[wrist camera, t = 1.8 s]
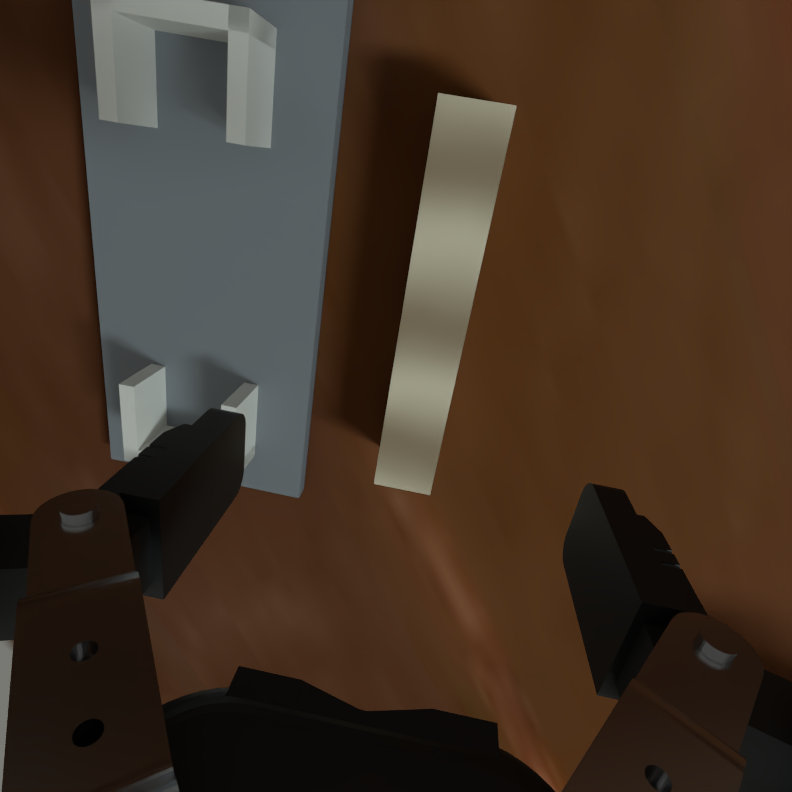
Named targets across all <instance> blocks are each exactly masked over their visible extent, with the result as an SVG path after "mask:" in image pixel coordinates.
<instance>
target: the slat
mask: <svg viewBox="0 0 792 792" xmlns="http://www.w3.org/2000/svg"><path fill="white" fill-rule="evenodd" d="M515 111H516V106H515V105H509V104H503V103H497V102H491V101H485V100H479V99H473V98H467V97H461V96H454V95H448V94H442V93H438V97H437V103H436V109H435V115H434V121H433V127H432V133H431V139H430V145H429V152H428V158H427V164H426V170H425V176H424V182H423V188H422V194H421V200H420V206H419V212H418V218H417V225H416V231H415V237H414V243H413V249H412V255H411V261H410V267H409V273H408V279H407V285H406V291H405V298H404V304H403V310H402V316H401V322H400V328H399V334H398V340H397V346H396V352H395V358H394V364H393V371H392V377H391V383H390V389H389V395H388V401H387V407H386V413H385V419H384V425H383V431H382V437H381V444H380V450H379V456H378V462H377V468H376V474H375V480H374V484H378V485H383V486H388V487H393V488H397V489H402V490H407V491H412V492H417V493H422V494H427V495H430V493H431V488H432V484H433V479H434V475H435V470H436V466H437V461H438V457H439V452H440V448H441V443H442V439H443V434H444V430H445V425H446V421H447V416H448V412H449V407H450V403H451V398H452V394H453V389H454V385H455V380H456V376H457V371H458V367H459V362H460V358H461V353H462V349H463V344H464V340H465V335H466V331H467V326H468V322H469V317H470V313H471V308H472V304H473V299H474V295H475V290H476V286H477V281H478V277H479V272H480V268H481V263H482V259H483V254H484V250H485V245H486V241H487V236H488V232H489V227H490V223H491V218H492V214H493V209H494V205H495V200H496V196H497V191H498V187H499V182H500V178H501V173H502V169H503V164H504V160H505V156H506V151H507V147H508V142H509V138H510V133H511V129H512V124H513V120H514V115H515Z"/></svg>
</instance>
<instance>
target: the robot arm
mask: <svg viewBox="0 0 792 792" xmlns="http://www.w3.org/2000/svg"><path fill="white" fill-rule="evenodd" d="M245 433H246V420H245V416H244V415H243V414H241V413H236V412H231V411H226V410H221V409H216V408H210V409H209V410H207V411H206V412H205V413H204V414H203V415H202V416H201V417H200V418H199V419H198V420H197V421H196V422H195V423H193V424H192V425H189V424H182V425H180V426H177V427H175V428H172V429H170V430H168V431H165V432H163V433H162V434H161V435H160V436H159V437H157V438H156V439H155V440H154V441H153V442H152V443H151V444H150V446H149V447H146V448H145V449H144V450H142V451H141V452H140V453H139V454H138V457H134V458H133V459H132V460H131V461H130V462H129V463H127V464H126V465H125V466H124V467H123V468H122V469H121V470H119V471H118V472H117V473H116V474H115V475H114V476H112V477H111V478H110V479H109V480H108V481H107V482H106V483H104V484H103V485H102V486H101V487H100V488H99V489H83V490H76V491H71V492H67V493H64V494H61V495H59V496H56V497H54V498H52V499H50V500H48V501H47V502H45V503H43V504H42V505H41V506H40V507H39V508H38V509H37V510H36V511H35V512H34V514H27V515H0V641H4V640H14V645H13V657H12V671H11V682H10V695H9V708H8V720H7V732H6V744H5V745H6V746H5V757H4V769H3V782H2V792H555V791H554V790H553V789H552V788H551V787H550V786H549V785H548V784H547V783H546V782H545V781H544V780H543V779H542V778H541V777H540V776H539V775H538V774H537V773H536V772H534V771H533V770H532V769H531V768H529V767H528V766H527V765H526V764H524V763H523V762H522V761H520V760H519V759H517V758H516V757H514V756H513V755H511V754H509V753H508V752H506V751H504V750H502V749H500V748H499V743H498V727H497V723H494V722H490V721H485V720H481V719H476V718H472V717H467V716H463V715H458V714H454V713H449V712H444V711H440V710H435V709H416V710H390V711H364V710H360V709H358V708H355V707H353V706H352V705H350V704H348V703H346V702H344V701H342V700H340V699H338V698H336V697H334V696H332V695H330V694H328V693H326V692H324V691H322V690H320V689H318V688H316V687H314V686H312V685H310V684H308V683H306V682H304V681H303V680H300V679H295V678H291V677H286V676H282V675H277V674H273V673H268V672H264V671H259V670H254V669H250V668H245V667H241V666H239V667H238V669H237V671H236V673H235V676H234V678H233V680H232V682H231V685H230V687H229V688H216V689H209V690H203V691H199V692H196V693H192V694H188V695H185V696H182V697H180V698H177V699H175V700H172V701H169V702H167V703H165V704H163V705H162V703H161V697H160V691H159V686H158V680H157V674H156V668H155V663H154V657H153V651H152V645H151V640H150V634H149V628H148V622H147V617H146V611H145V605H144V599H143V595H145V596H150V597H154V598H159V599H164V598H165V597H166V595H167V594H168V593H169V591H170V590H171V588H172V587H173V585H174V584H175V583H176V581H177V580H178V578H179V577H180V575H181V574H182V573H183V571H184V570H185V568H186V567H187V565H188V564H189V563H190V561H191V560H192V558H193V557H194V556H195V554H196V553H197V551H198V550H199V548H200V547H201V546H202V544H203V543H204V541H205V540H206V538H207V537H208V536H209V534H210V533H211V531H212V530H213V528H214V527H215V526H216V524H217V523H218V521H219V520H220V518H221V517H222V516H223V514H224V513H225V511H226V510H227V508H228V507H229V506H230V504H231V503H232V501H233V500H234V499H235V497H236V495H237V494H238V492H239V489H240V487H241V483H242V480H243V475H244V459H245ZM563 564H564V568H565V572H566V576H567V580H568V584H569V587H570V591H571V595H572V599H573V603H574V607H575V611H576V615H577V619H578V622H579V626H580V630H581V634H582V638H583V642H584V646H585V650H586V654H587V657H588V661H589V665H590V669H591V673H592V677H593V681H594V685H595V689H596V692H597V695H599V696H604V697H608V698H613V699H617V700H618V702H617V704H616V705H615V707H614V708H613V710H612V712H611V713H610V715H609V716H608V718H607V720H606V721H605V723H604V724H603V726H602V728H601V729H600V731H599V732H598V734H597V736H596V737H595V739H594V740H593V742H592V744H591V745H590V747H589V748H588V750H587V752H586V753H585V755H584V756H583V758H582V760H581V761H580V763H579V764H578V766H577V768H576V769H575V771H574V772H573V774H572V776H571V777H570V779H569V781H568V782H567V784H566V785H565V787H564V789H563V790H562V792H792V682H791V681H788V680H786V679H784V678H782V677H779V676H777V675H775V674H773V673H770V672H768V671H766V670H764V669H763V664H762V662H761V659H760V658H759V656H758V654H757V653H756V651H755V650H754V649H753V647H752V646H751V645H750V644H749V643H748V642H747V641H746V640H745V639H744V638H743V637H742V636H741V635H739V634H738V633H737V632H736V631H734V630H733V629H731V628H730V627H728V626H727V625H725V624H724V623H722V622H720V621H718V620H716V619H714V618H711V617H709V616H708V615H707V613H706V611H705V610H704V608H703V606H702V604H701V602H700V601H699V599H698V597H697V595H696V593H695V592H694V590H693V588H692V586H691V584H690V583H689V581H688V579H687V577H686V575H685V573H684V572H683V570H682V569H680V564H679V563H678V561H677V559H676V557H675V555H674V554H672V550H671V548H670V546H669V545H668V543H667V541H666V539H665V537H664V536H663V534H662V533H661V532H660V531H659V530H658V529H657V528H656V527H655V526H654V525H653V524H652V523H651V522H650V521H649V520H648V519H647V518H646V517H645V516H641V515H637V514H636V512H635V510H634V508H633V506H632V504H631V502H630V500H629V499H628V497H627V495H626V493H625V491H624V490H622V489H616V488H611V487H606V486H601V485H596V484H591V483H589V484H587V485H586V486H585V488H584V489H583V491H582V494H581V497H580V499H579V502H578V505H577V507H576V510H575V513H574V516H573V518H572V521H571V524H570V526H569V529H568V532H567V534H566V537H565V541H564V547H563Z"/></svg>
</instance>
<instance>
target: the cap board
mask: <svg viewBox="0 0 792 792" xmlns="http://www.w3.org/2000/svg"><path fill="white" fill-rule="evenodd" d="M353 1H354V0H72V8H73V19H74V31H75V42H76V54H77V66H78V77H79V89H80V100H81V112H82V124H83V135H84V147H85V158H86V170H87V182H88V193H89V205H90V216H91V228H92V240H93V251H94V263H95V274H96V286H97V298H98V309H99V321H100V332H101V344H102V356H103V367H104V379H105V390H106V402H107V414H108V425H109V437H110V448H111V459H116V460H121V461H125V462H130V461H131V460H132V459H133V458H134V457H138V454H139V453H140V452H141V451H142V450H144V449H145V448H146V447H149V446H150V444H151V443H152V442H153V441H154V440H155V439H156V438H157V437H159V436H160V435H161V434H162V433H163V432H165V431H168V430H170V429H172V428H175V427H177V426H180V425H182V424H189V425H192V424H193V423H195V422H196V421H197V420H198V419H199V418H200V417H201V416H202V415H203V414H204V413H205V412H206V411H207V410H209V409H210V408H216V409H221V410H226V411H231V412H236V413H241V414H243V415H244V416H245V420H246V433H245V459H244V475H243V480H242V483H241V486H244V487H249V488H254V489H258V490H263V491H268V492H273V493H277V494H282V495H287V496H291V497H296V498H299V497H300V495H301V493H302V491H303V489H304V481H305V471H306V461H307V451H308V442H309V432H310V422H311V412H312V402H313V393H314V383H315V373H316V363H317V354H318V344H319V334H320V324H321V314H322V305H323V295H324V285H325V275H326V266H327V256H328V246H329V236H330V226H331V217H332V207H333V197H334V187H335V178H336V168H337V158H338V148H339V138H340V129H341V119H342V109H343V99H344V89H345V80H346V70H347V60H348V50H349V41H350V31H351V21H352V11H353Z"/></svg>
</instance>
